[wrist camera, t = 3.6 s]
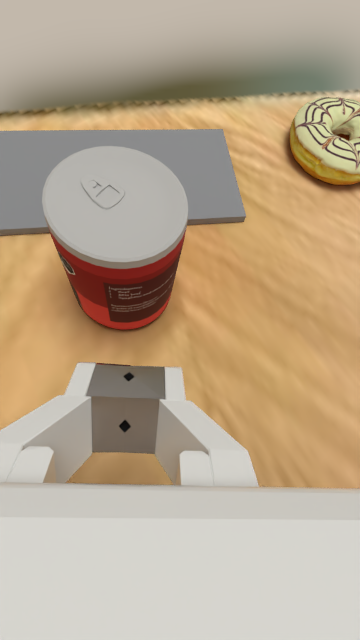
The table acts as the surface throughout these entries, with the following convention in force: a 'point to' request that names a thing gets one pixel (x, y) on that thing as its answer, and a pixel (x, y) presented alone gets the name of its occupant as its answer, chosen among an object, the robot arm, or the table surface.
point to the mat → (164, 145)
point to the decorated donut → (328, 140)
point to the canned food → (117, 232)
